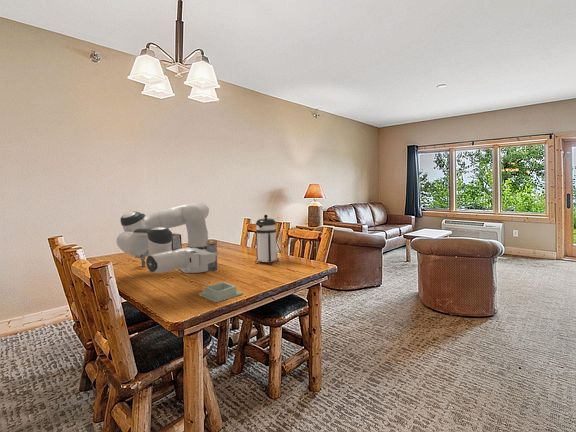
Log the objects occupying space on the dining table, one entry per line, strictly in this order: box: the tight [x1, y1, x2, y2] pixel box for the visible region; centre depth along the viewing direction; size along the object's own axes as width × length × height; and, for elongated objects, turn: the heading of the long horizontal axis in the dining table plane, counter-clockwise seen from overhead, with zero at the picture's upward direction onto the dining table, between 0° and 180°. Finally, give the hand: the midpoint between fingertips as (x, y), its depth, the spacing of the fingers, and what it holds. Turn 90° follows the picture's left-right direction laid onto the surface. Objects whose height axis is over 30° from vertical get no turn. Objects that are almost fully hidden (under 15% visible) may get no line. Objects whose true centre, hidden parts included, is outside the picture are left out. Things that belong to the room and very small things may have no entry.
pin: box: [206, 239, 219, 272], centre depth 147 cm, size 5×5×14 cm
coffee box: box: [172, 233, 183, 251], centre depth 207 cm, size 9×6×16 cm
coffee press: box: [254, 214, 279, 266], centre depth 193 cm, size 17×16×30 cm
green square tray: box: [198, 281, 244, 304], centre depth 138 cm, size 14×14×4 cm
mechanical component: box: [134, 250, 148, 268], centre depth 186 cm, size 3×10×10 cm, turn 158°
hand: (213, 252), depth 147 cm, fingers closed on pin, 4 cm apart
